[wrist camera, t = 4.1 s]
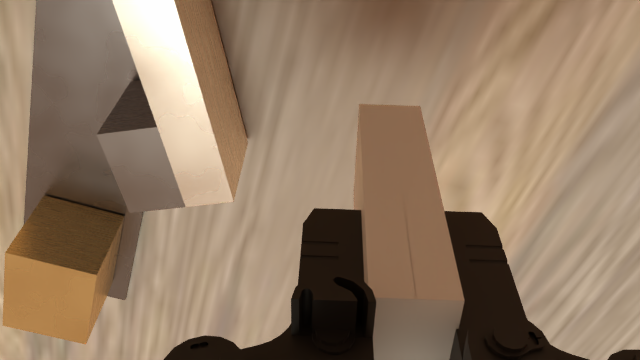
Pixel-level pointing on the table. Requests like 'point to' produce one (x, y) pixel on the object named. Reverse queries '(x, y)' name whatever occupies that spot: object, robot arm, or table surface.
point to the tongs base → (79, 114)
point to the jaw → (174, 110)
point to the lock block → (61, 269)
